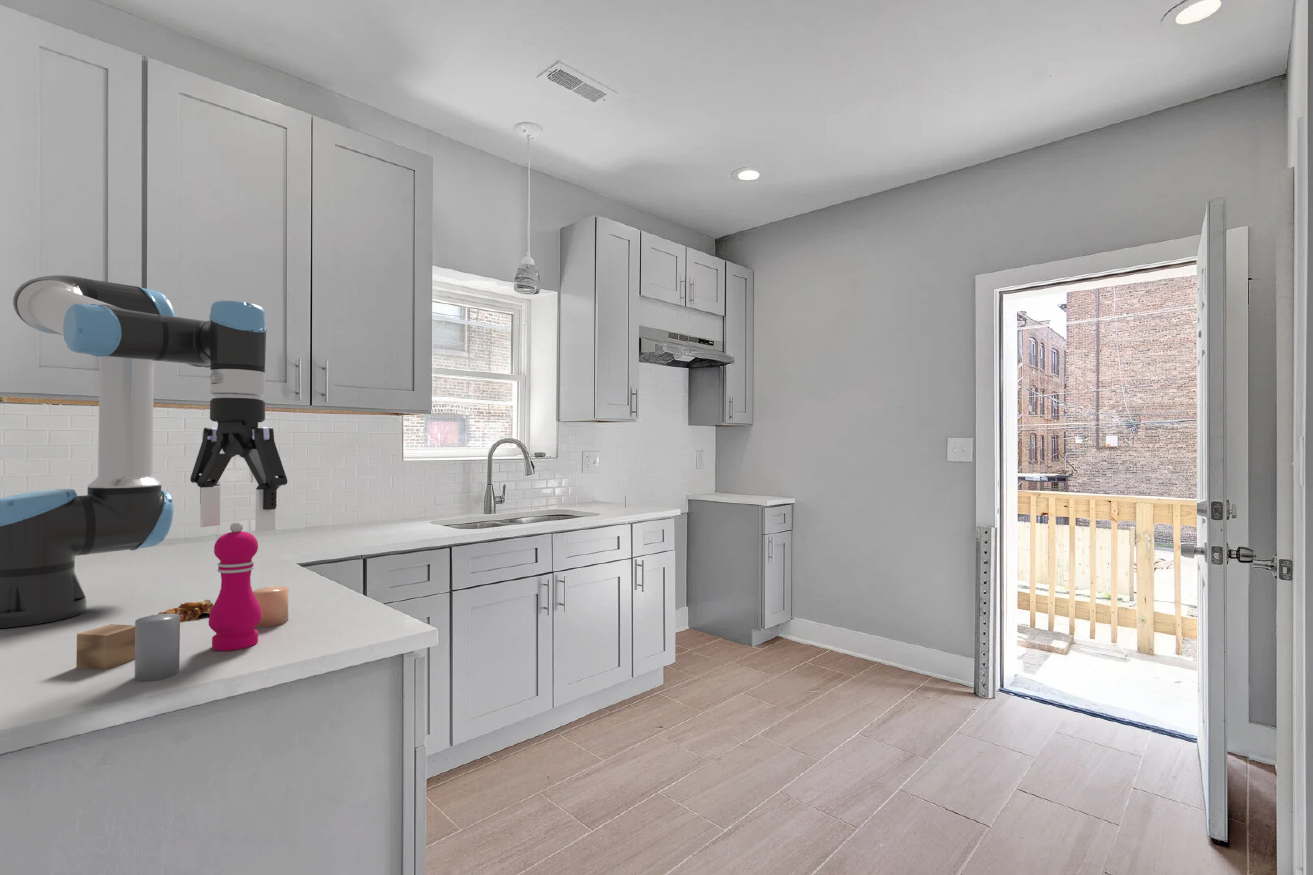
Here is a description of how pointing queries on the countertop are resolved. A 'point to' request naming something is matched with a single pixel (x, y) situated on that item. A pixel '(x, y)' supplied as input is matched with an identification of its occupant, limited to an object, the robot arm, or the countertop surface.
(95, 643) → the tan block
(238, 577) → the pepper mill
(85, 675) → the countertop surface
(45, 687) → the countertop surface
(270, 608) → the peach rounded cylinder
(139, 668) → the grey cylinder
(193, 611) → the brown lumpy mound
